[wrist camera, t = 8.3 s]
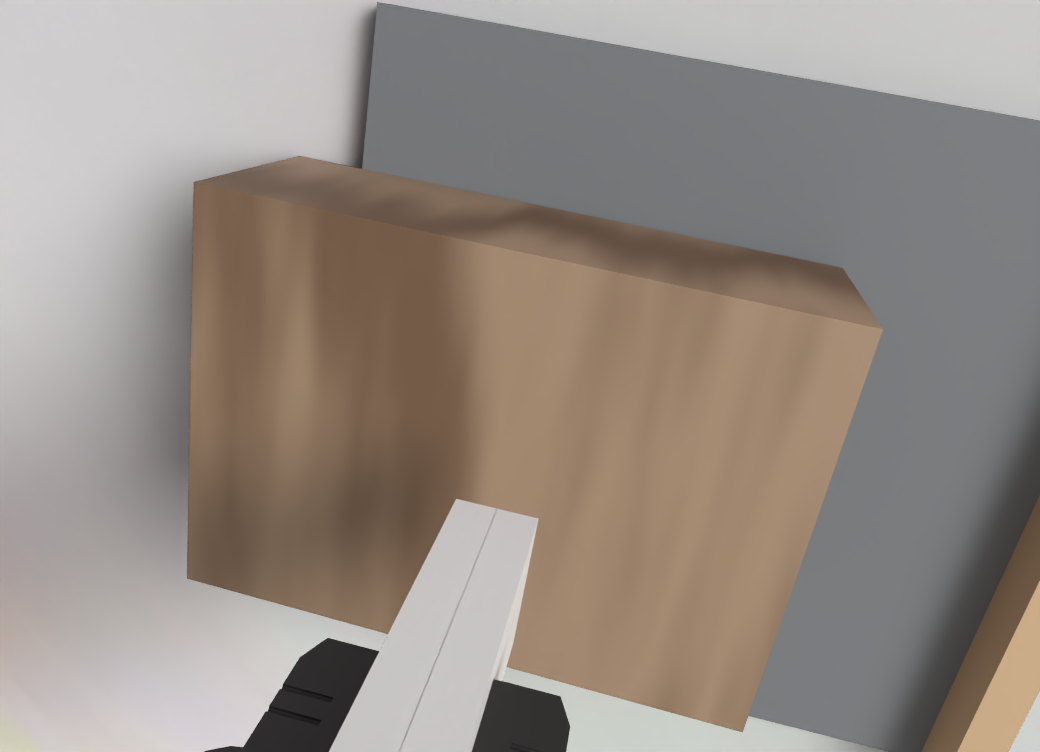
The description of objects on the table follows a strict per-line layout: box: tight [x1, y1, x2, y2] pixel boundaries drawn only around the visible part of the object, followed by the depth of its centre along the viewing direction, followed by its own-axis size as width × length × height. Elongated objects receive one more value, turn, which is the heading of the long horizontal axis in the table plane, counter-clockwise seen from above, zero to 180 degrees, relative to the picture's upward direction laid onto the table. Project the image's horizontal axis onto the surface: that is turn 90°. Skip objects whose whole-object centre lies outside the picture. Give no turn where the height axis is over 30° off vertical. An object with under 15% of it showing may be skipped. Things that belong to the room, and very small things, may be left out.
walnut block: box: [187, 156, 883, 732], centre depth 21 cm, size 5×10×14 cm
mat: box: [362, 2, 1040, 752], centre depth 22 cm, size 20×18×2 cm
